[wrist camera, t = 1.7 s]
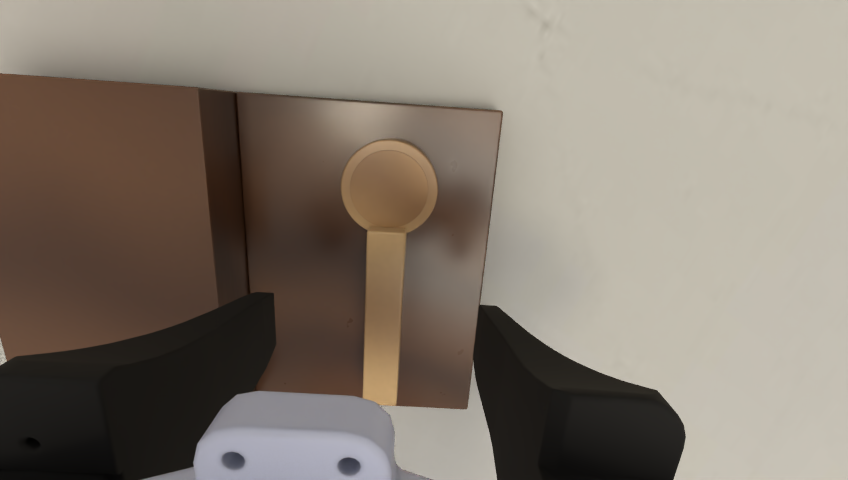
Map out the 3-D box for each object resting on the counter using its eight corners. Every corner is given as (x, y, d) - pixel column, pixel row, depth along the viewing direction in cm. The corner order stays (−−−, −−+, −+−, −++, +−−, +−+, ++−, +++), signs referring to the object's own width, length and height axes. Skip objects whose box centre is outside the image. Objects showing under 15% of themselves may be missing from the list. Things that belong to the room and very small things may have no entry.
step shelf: (465, 394, 22) (474, 454, 18) (97, 375, 22) (27, 432, 18) (498, 110, 18) (519, 110, 14) (35, 77, 17) (-77, 67, 13)
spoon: (421, 383, 21) (421, 408, 19) (343, 379, 20) (336, 403, 19) (440, 141, 17) (442, 144, 15) (345, 134, 17) (336, 137, 15)
